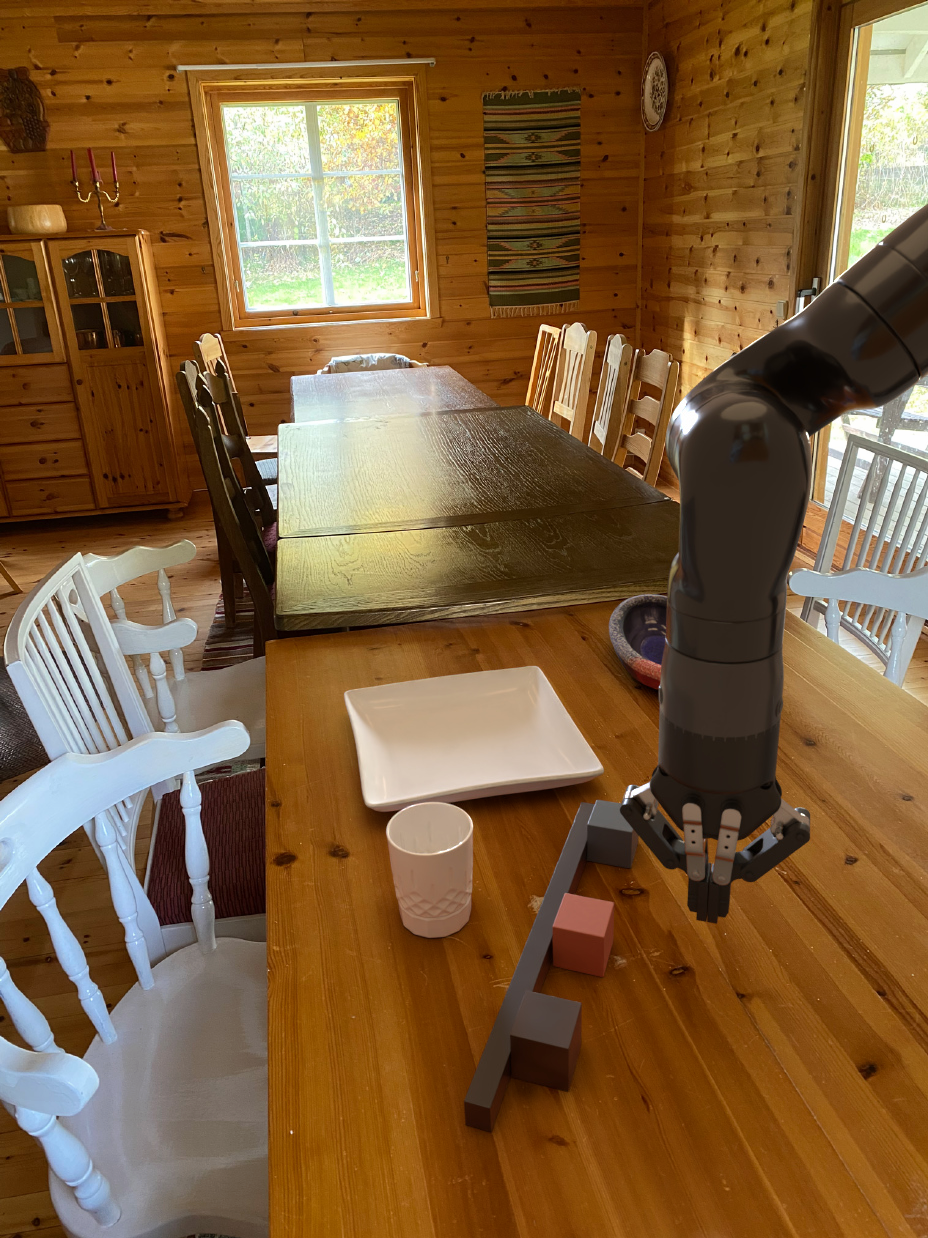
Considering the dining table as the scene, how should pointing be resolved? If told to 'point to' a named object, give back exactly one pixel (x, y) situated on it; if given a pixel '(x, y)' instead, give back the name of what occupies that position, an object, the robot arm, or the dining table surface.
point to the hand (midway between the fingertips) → (707, 914)
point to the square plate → (465, 738)
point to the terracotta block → (583, 934)
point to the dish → (640, 636)
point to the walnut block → (546, 1040)
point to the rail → (525, 980)
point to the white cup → (432, 867)
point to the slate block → (610, 836)
